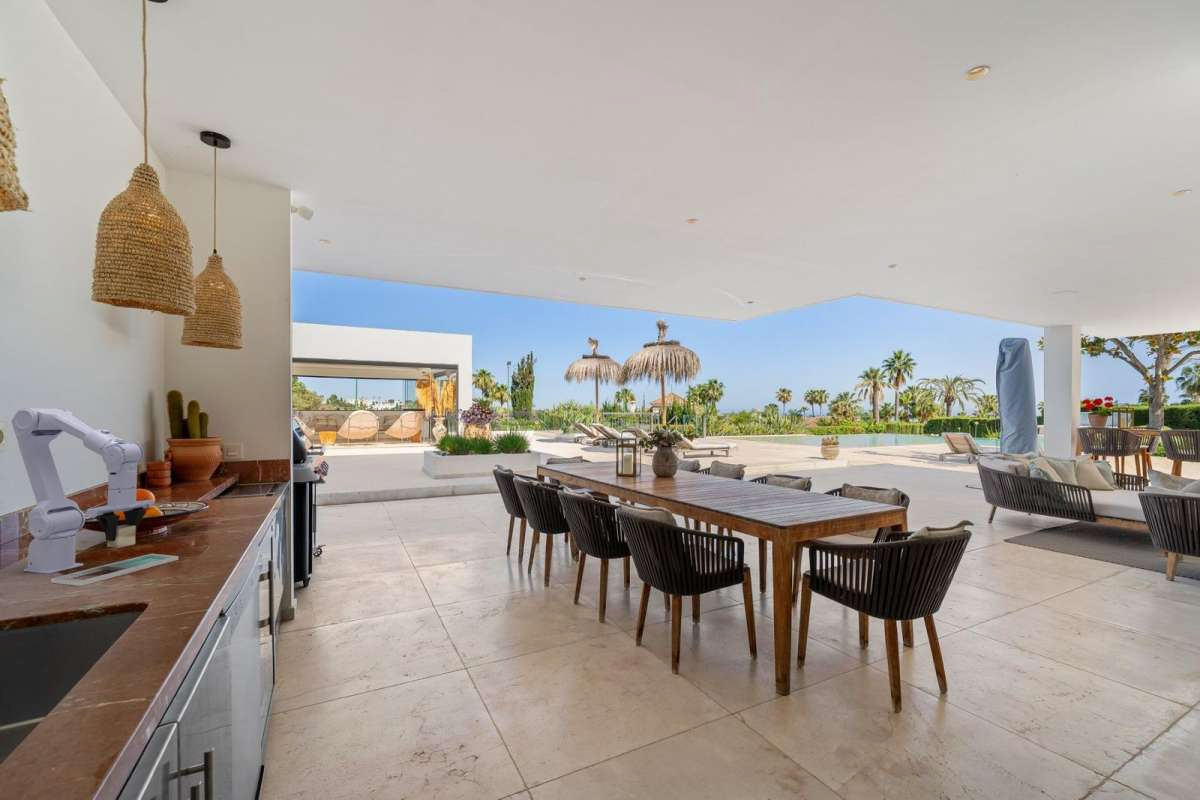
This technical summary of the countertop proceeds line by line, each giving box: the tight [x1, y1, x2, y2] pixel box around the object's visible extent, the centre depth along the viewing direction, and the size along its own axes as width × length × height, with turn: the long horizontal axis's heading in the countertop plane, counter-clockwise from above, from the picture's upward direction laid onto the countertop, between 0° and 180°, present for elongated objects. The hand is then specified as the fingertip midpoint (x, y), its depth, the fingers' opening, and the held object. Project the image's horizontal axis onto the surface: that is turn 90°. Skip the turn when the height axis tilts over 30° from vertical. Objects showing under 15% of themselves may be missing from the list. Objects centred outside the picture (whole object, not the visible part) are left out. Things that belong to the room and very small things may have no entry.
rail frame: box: [50, 553, 179, 587], centre depth 141 cm, size 10×24×1 cm, turn 167°
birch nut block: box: [106, 524, 137, 549], centre depth 141 cm, size 4×4×5 cm
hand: (120, 538), depth 141 cm, fingers closed on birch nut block, 4 cm apart
